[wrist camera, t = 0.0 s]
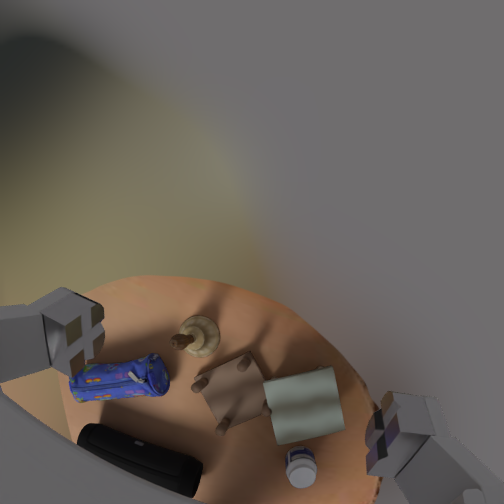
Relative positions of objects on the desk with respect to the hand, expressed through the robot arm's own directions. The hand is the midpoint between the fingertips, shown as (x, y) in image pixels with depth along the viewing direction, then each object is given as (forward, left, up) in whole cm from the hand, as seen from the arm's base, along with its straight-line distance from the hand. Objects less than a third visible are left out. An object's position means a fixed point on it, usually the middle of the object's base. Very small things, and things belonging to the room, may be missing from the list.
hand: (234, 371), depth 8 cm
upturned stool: (-11, +10, -54) cm, 56 cm away
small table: (-15, -2, -54) cm, 56 cm away
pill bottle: (-28, +1, -55) cm, 61 cm away
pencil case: (-5, +33, -55) cm, 64 cm away
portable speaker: (-23, +33, -55) cm, 68 cm away
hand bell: (+1, +15, -55) cm, 57 cm away
